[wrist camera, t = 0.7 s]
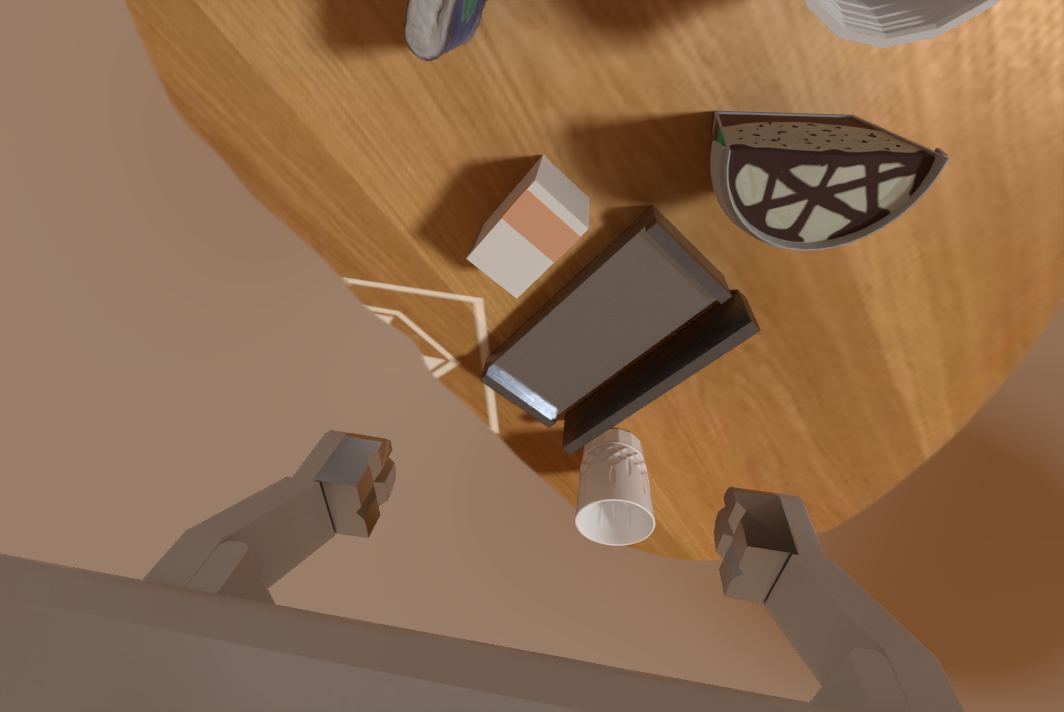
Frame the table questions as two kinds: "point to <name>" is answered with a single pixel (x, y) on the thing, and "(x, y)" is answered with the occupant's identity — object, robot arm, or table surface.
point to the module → (531, 228)
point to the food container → (815, 176)
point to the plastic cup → (894, 18)
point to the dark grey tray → (620, 332)
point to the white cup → (614, 491)
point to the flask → (440, 25)
